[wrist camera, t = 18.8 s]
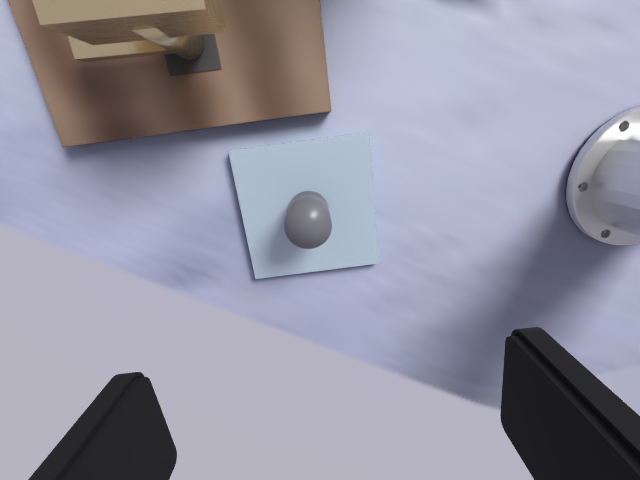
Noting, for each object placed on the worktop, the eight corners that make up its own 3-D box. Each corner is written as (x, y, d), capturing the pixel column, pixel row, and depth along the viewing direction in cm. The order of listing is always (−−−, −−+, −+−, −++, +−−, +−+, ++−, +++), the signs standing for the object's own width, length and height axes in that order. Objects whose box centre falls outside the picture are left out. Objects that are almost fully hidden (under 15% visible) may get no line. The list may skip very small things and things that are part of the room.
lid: (366, 131, 29) (382, 132, 22) (376, 257, 32) (391, 287, 26) (232, 150, 29) (210, 155, 23) (257, 272, 33) (245, 305, 26)
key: (88, 32, 24) (-43, -25, 15) (238, 17, 23) (195, -48, 15) (98, 68, 24) (-20, 35, 16) (244, 54, 24) (206, 13, 16)
